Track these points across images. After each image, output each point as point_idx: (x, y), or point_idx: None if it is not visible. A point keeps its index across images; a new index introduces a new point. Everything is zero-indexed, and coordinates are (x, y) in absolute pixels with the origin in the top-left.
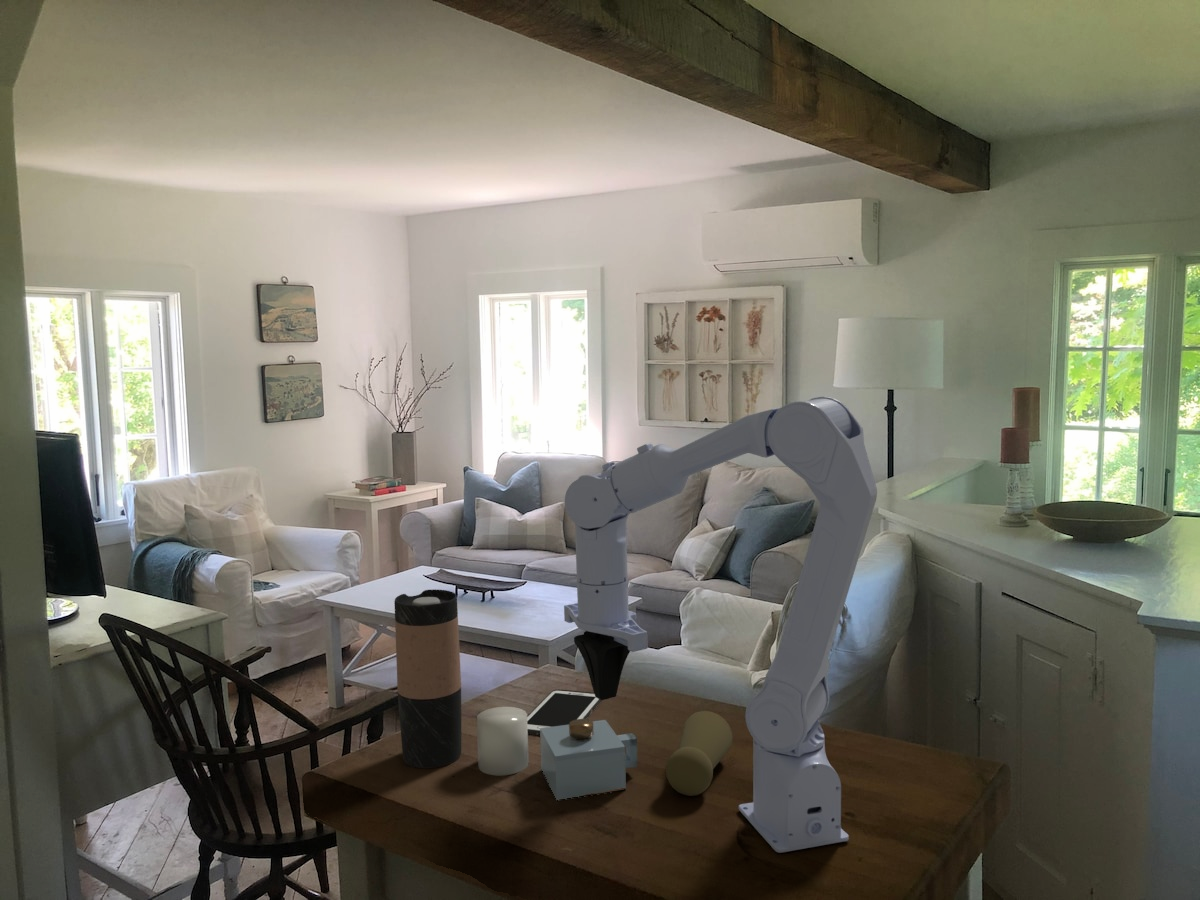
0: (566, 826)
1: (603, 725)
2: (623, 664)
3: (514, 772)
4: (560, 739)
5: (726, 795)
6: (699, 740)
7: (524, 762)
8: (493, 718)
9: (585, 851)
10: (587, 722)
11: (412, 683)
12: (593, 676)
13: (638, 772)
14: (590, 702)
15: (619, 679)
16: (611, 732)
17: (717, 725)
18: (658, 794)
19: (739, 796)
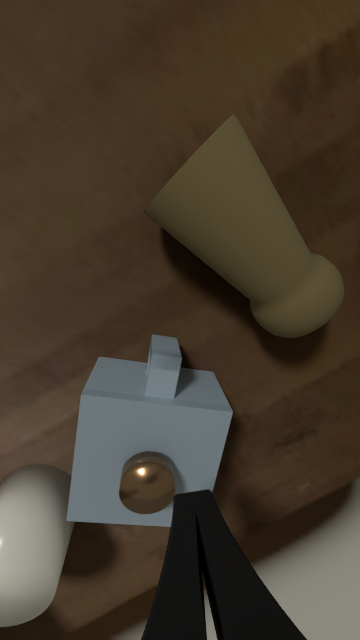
0: (259, 473)
1: (111, 410)
2: (276, 602)
3: None
4: None
5: (313, 237)
6: (285, 252)
7: (67, 483)
8: (5, 602)
9: (321, 472)
10: (148, 479)
11: None
12: (206, 634)
13: (166, 327)
14: None
15: (232, 535)
16: (155, 409)
17: (250, 162)
18: (250, 333)
19: (328, 219)
